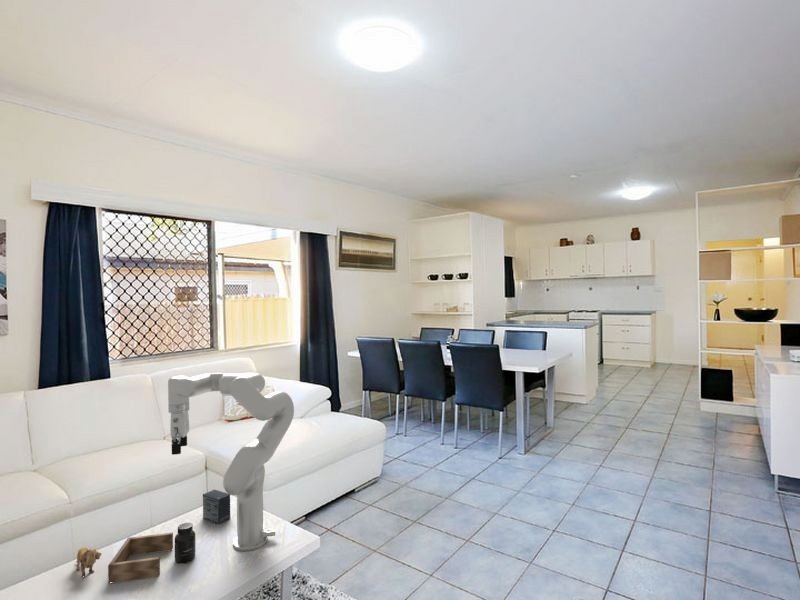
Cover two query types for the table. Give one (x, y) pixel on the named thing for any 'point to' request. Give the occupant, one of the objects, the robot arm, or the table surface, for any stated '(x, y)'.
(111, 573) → the walnut u-shaped bracket
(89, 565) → the lion figurine
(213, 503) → the small box
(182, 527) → the supplement bottle
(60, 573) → the table surface
